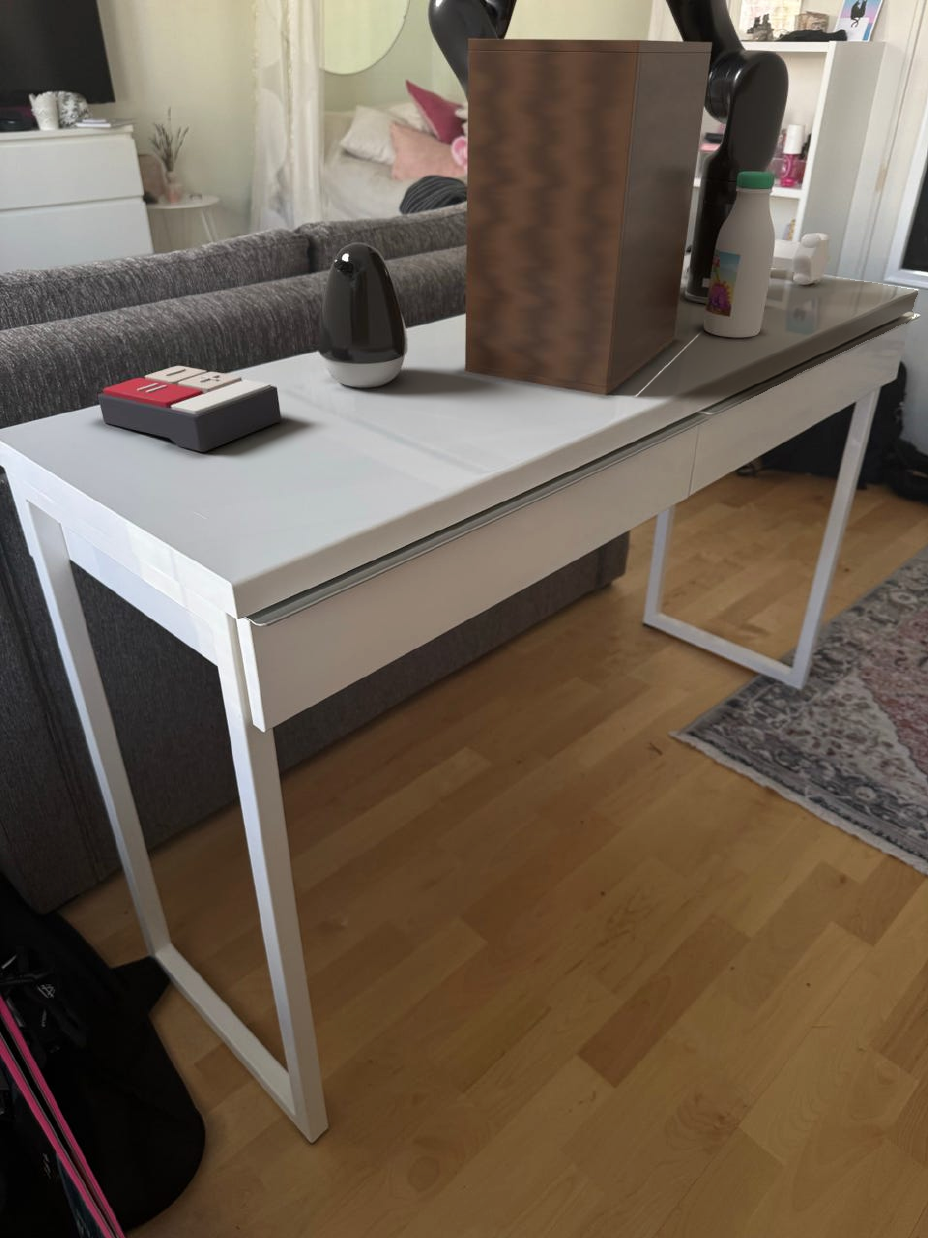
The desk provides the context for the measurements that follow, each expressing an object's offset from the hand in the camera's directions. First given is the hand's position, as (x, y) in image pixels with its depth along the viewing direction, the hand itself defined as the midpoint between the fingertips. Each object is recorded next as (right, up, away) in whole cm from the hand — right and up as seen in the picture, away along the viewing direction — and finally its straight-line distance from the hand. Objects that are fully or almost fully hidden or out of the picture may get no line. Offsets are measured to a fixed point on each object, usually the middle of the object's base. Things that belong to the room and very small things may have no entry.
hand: (569, 259), depth 109 cm
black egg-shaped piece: (-24, -15, -1) cm, 28 cm away
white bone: (+41, +16, +49) cm, 65 cm away
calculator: (-41, -22, -13) cm, 48 cm away
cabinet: (+2, -9, +8) cm, 12 cm away
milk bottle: (+25, -3, +19) cm, 31 cm away
